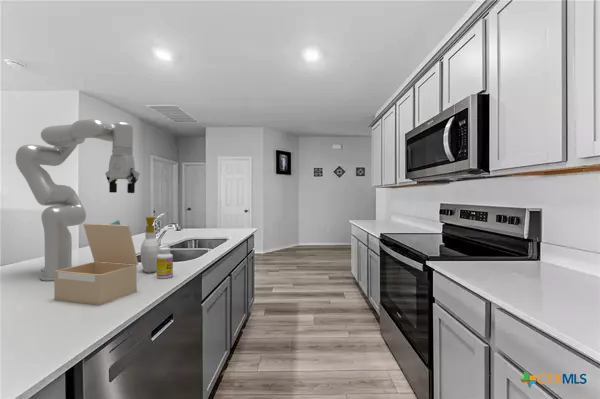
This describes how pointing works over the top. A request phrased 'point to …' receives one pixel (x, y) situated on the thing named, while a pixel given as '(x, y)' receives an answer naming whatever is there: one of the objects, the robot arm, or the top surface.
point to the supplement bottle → (164, 263)
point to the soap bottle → (149, 248)
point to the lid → (111, 243)
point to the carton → (95, 282)
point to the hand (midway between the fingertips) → (121, 192)
